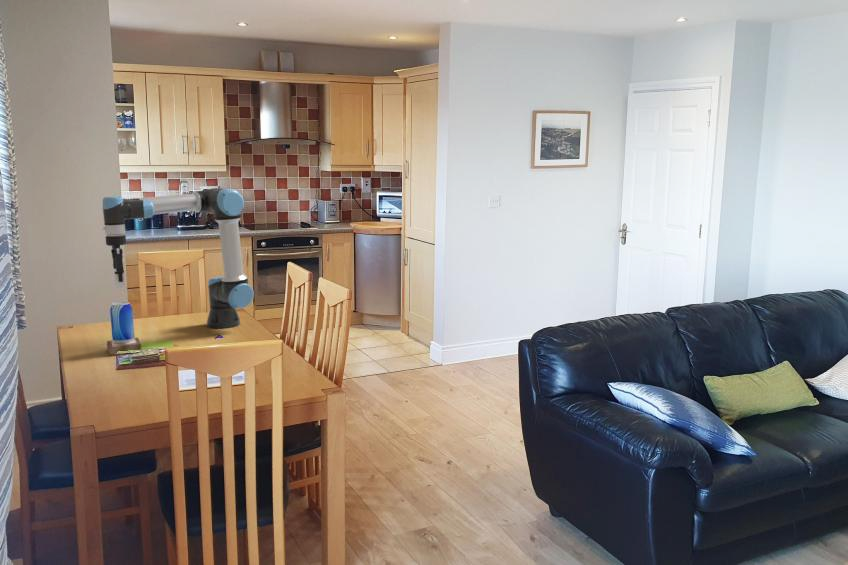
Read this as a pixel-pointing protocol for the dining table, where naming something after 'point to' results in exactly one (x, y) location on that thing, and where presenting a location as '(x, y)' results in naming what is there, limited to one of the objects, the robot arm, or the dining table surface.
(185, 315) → the dining table surface
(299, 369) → the dining table surface
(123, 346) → the base slab
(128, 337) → the beer can
